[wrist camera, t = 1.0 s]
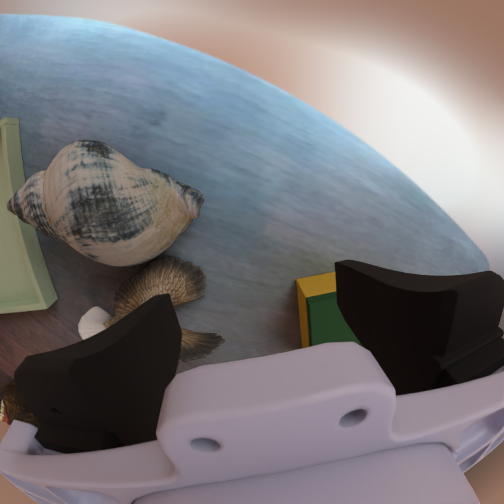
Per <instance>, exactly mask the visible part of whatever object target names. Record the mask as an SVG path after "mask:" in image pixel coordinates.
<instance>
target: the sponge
mask: <svg viewBox="0 0 504 504" xmlns="http://www.w3.org/2000/svg"><path fill="white" fill-rule="evenodd" d="M296 286H297V296H298V306H299V317H300V328H301V341H302V348H306V347H311V346H315V345H319V344H323V343H332V342H355V343H357V344H358V345H360V346H362V345H361V343H360V342H359V340H358V339H357V338H356V336H355V335H354V333H353V332H352V330H351V329H350V327H349V326H348V324H347V323H346V321H345V320H344V318H343V316H342V314H341V312H340V310H339V307H338V305H337V296H336V276H335V272H330V273H325V274H320V275H315V276H310V277H305V278H299V279H296ZM362 347H363V346H362Z"/></svg>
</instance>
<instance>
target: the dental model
mask: <svg viewBox="0 0 504 504" xmlns="http://www.w3.org/2000/svg"><path fill="white" fill-rule="evenodd" d="M0 420H1V421H4V422H7V423H8V424H9V421H8V418H7V415H6V411H5V408H4V404H3V400H2V401H1V408H0ZM9 425H10V424H9Z"/></svg>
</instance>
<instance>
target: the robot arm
mask: <svg viewBox="0 0 504 504" xmlns="http://www.w3.org/2000/svg"><path fill="white" fill-rule="evenodd" d="M335 276H336V296H337V305H338V307H339V310H340V312H341V314H342V316H343V318H344V320H345V321H346V323H347V324H348V326H349V327H350V329H351V330H352V332H353V333H354V335H355V336H356V338H357V339H358V340H359V342H360V343H361V345H362V346H363V347H362V346H360V345H358V344H357V343H355V342H332V343H323V344H319V345H315V346H311V347H306V348H302V349H297V350H293V351H288V352H283V353H278V354H273V355H268V356H262V357H257V358H251V359H245V360H238V361H232V362H225V363H218V364H211V365H203V366H199V367H196V368H193V369H190V370H187V371H184V372H181V373H178V374H177V375H176V376H175V373H176V369H177V365H178V361H179V356H180V352H181V343H182V330H181V327H180V324H179V322H178V319H177V316H176V313H175V309H174V306H173V303H172V300H171V297H170V294H169V293H166V294H159V295H155V296H153V297H151V298H150V299H148V300H147V301H145V302H144V303H142V304H141V305H140V306H138V307H137V308H136V309H134V310H133V311H132V312H130V313H129V314H127V315H126V316H124V317H123V318H122V319H120V320H119V321H117V322H116V323H114V324H113V325H111V326H109V327H108V328H106V329H104V330H103V331H101V332H99V333H97V334H95V335H93V336H91V337H89V338H87V339H84V340H82V341H80V342H77V343H75V344H72V345H70V346H67V347H64V348H60V349H57V350H54V351H50V352H45V353H40V354H36V355H30V356H27V357H26V358H25V359H24V361H23V362H22V363H21V364H20V366H19V367H18V368H17V369H16V371H15V373H14V381H15V385H16V387H17V390H18V392H19V393H20V395H21V397H22V398H23V400H24V401H25V402H26V404H27V405H28V406H29V408H30V409H31V410H32V411H33V413H34V414H35V415H36V417H37V418H38V419H39V420H40V421H41V422H42V423H41V425H40V427H39V429H38V428H37V427H35V426H34V425H32V424H29V423H26V422H22V421H19V420H13V422H12V424H11V425H10V427H9V429H8V431H7V433H6V434H5V436H4V438H3V439H2V441H1V443H0V473H1V474H2V475H3V476H4V477H5V478H7V479H8V480H9V481H10V482H11V483H12V484H13V485H15V486H16V487H17V488H18V489H20V490H21V491H22V492H23V493H25V494H26V495H27V496H29V497H30V498H32V499H33V500H34V501H36V502H38V503H40V504H480V502H479V500H478V498H477V496H476V495H475V493H474V491H473V489H472V487H471V486H470V484H469V482H468V481H467V479H466V477H465V475H464V474H463V473H464V472H465V471H467V470H468V469H469V468H471V467H472V466H474V465H475V464H476V463H477V462H478V461H480V460H481V459H482V458H484V457H485V456H486V455H487V454H488V453H489V452H491V451H492V450H493V449H494V448H495V447H496V446H498V445H499V444H500V443H501V442H502V441H503V440H504V339H503V338H502V336H503V334H504V332H503V330H502V329H500V328H499V327H498V325H499V322H500V318H501V315H502V311H503V307H504V280H503V278H502V277H501V276H500V275H498V274H496V273H494V272H492V271H484V272H478V273H472V274H466V275H453V276H430V275H418V274H410V273H404V272H399V271H394V270H389V269H385V268H381V267H378V266H374V265H370V264H367V263H363V262H359V261H354V260H344V261H339V262H335Z"/></svg>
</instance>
